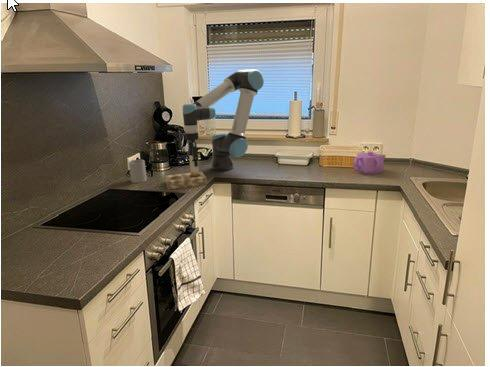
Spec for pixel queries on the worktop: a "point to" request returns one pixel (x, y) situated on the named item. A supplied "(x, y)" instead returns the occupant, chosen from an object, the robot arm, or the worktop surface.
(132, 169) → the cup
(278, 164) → the worktop surface
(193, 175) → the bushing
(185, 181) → the jig
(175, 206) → the worktop surface
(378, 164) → the teakettle
